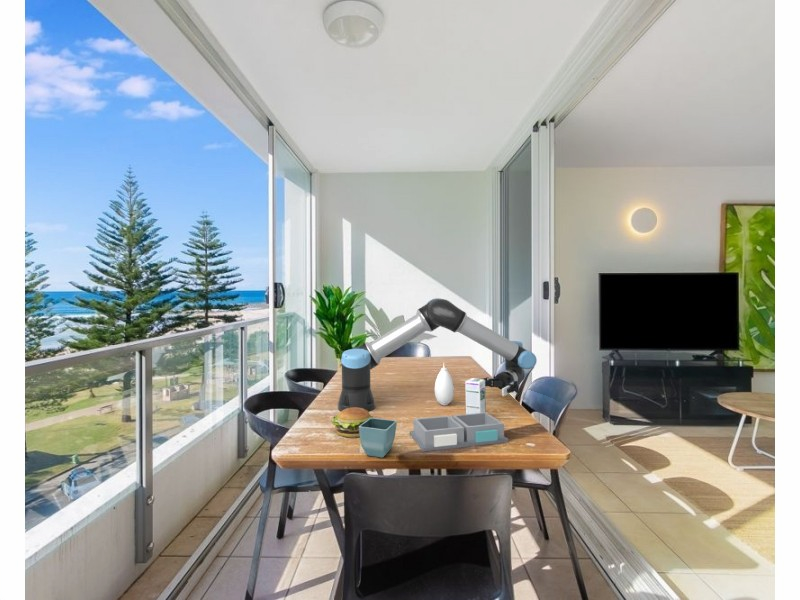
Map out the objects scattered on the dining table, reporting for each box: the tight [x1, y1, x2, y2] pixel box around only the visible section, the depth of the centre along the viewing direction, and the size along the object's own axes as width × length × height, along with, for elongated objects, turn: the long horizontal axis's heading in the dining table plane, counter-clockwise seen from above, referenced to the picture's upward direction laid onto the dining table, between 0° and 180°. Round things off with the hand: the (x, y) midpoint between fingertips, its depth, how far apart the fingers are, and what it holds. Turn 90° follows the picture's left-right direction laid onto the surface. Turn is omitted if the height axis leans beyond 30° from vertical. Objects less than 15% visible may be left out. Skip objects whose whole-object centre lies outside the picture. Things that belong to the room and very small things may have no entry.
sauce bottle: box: [434, 364, 455, 407], centre depth 165 cm, size 8×8×18 cm
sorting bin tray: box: [409, 411, 509, 453], centre depth 127 cm, size 28×15×6 cm, turn 104°
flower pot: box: [359, 417, 398, 458], centre depth 115 cm, size 9×9×9 cm
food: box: [331, 407, 374, 438], centre depth 134 cm, size 14×14×8 cm
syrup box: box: [464, 377, 487, 414], centre depth 147 cm, size 6×6×14 cm
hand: (485, 390), depth 154 cm, fingers open, 13 cm apart
